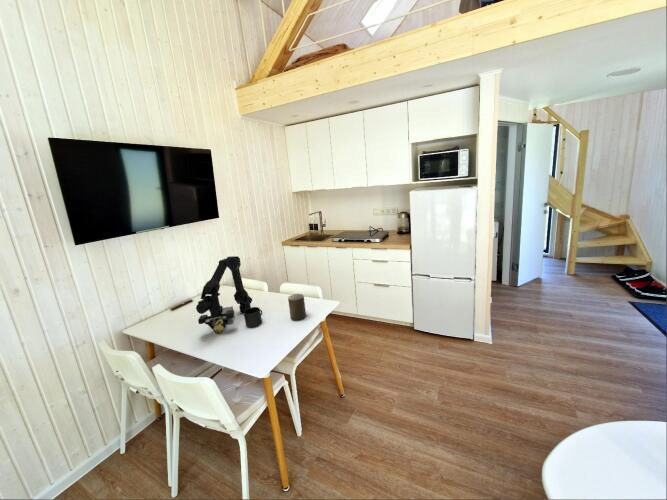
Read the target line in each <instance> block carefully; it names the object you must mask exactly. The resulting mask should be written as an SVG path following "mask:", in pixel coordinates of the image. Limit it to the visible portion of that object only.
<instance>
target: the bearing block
mask: <svg viewBox="0 0 667 500" xmlns="http://www.w3.org/2000/svg"><path fill="white" fill-rule="evenodd" d="M229 310H234V306H227V307H223V312H222V314H224V313H226V312H227V311H229ZM235 316H236V315H235V314H234V317H233V318H230V319H228V320H226V326H229V325H233V324H234V321H235V318H236V317H235ZM217 319H218V318H215V319H212V320H213V324H214V326H215V325H216V322H217Z"/></svg>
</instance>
